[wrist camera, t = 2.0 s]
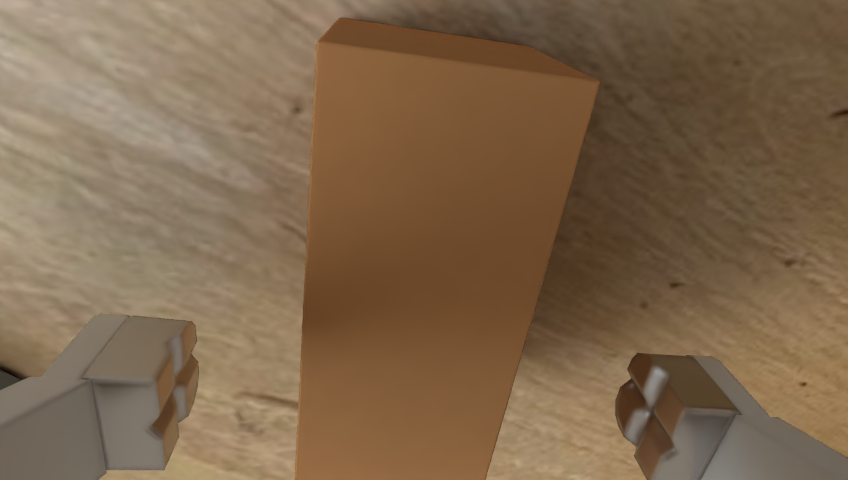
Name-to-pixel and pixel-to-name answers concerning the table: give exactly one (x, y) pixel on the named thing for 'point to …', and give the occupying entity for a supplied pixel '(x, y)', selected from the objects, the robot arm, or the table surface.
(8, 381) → the bracket
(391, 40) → the brown rectangular block
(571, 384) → the table surface
